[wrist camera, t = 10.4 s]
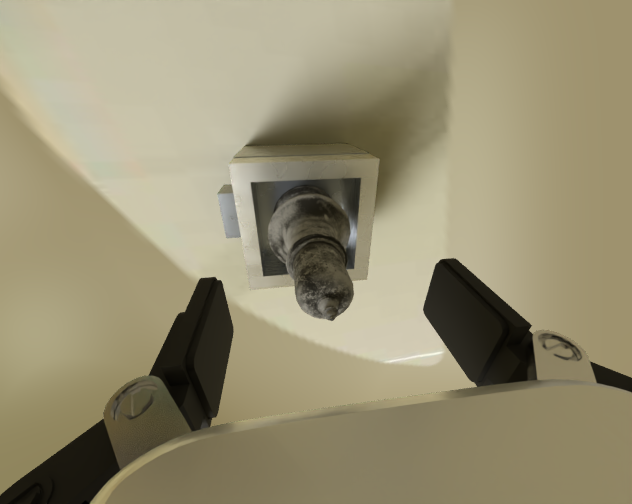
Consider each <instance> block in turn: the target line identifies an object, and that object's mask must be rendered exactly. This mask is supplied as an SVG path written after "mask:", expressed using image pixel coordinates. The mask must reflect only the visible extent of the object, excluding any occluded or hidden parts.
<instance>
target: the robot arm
mask: <svg viewBox="0 0 632 504" xmlns="http://www.w3.org/2000/svg"><path fill="white" fill-rule="evenodd" d="M423 311H424V314H425V316H426V317H427V319H428V320H429V322H430V323H431V325H432V326H433V328H434V329H435V330H436V332H437V333H438V335H439V336H440V338H441V339H442V341H443V342H444V343H445V345H446V346H447V348H448V349H449V351H450V352H451V354H452V355H453V356H454V358H455V359H456V361H457V362H458V364H459V365H460V367H461V368H462V370H463V371H464V372H465V374H466V375H467V377H468V378H469V379H470V380H471V381H472V382H474V383H475V384H476V385H477V387H474V388H466V389H459V390H451V391H444V392H436V393H429V394H421V395H414V396H407V397H400V398H392V399H385V400H378V401H371V402H363V403H356V404H349V405H343V406H335V407H328V408H322V409H315V410H307V411H301V412H295V413H287V414H280V415H274V416H267V417H261V418H255V419H249V420H243V421H237V422H231V423H226V424H222V425H217V426H212V427H210V425H211V420H212V418H214V417H216V416H217V414H218V410H219V404H220V399H221V394H222V389H223V384H224V379H225V374H226V369H227V364H228V358H229V353H230V348H231V343H232V338H233V324H232V320H231V316H230V313H229V308H228V304H227V300H226V296H225V292H224V288H223V284H222V281H221V280H217V279H216V277H210V278H201V279H200V280H199V282H198V284H197V286H196V289H195V291H194V293H193V295H192V297H191V300H190V302H189V304H188V306H187V309H186V311H185V312H182V313H179V314H178V316H177V317H176V319H175V321H174V323H173V325H172V327H171V330H170V332H169V334H168V336H167V338H166V340H165V342H164V344H163V346H162V349H161V351H160V353H159V355H158V357H157V359H156V361H155V363H154V365H153V367H152V370H151V372H150V374H149V376H142V377H139V378H136V379H134V380H132V381H130V382H128V383H126V384H125V385H124V386H122V387H121V388H120V389H119V390H118V391H117V392H116V393H115V394H114V395H113V396H112V397H111V398H110V400H109V401H108V403H107V404H106V407H105V410H104V413H103V415H104V419H102V420H101V421H100V422H98V423H97V424H96V425H94V426H93V427H91V428H90V429H89V430H87V431H86V432H85V433H83V434H82V435H80V436H79V437H78V438H76V439H75V440H74V441H72V442H71V443H70V444H68V445H67V446H65V447H64V448H63V449H61V450H60V451H58V452H57V453H56V454H54V455H53V456H51V457H50V458H49V459H47V460H46V461H45V462H43V463H42V464H40V465H39V466H38V467H36V468H35V469H33V470H32V471H31V472H29V473H28V474H27V475H25V476H24V477H22V478H21V479H20V480H18V481H17V482H16V483H14V484H13V485H12V486H11V487H10V488H8V489H7V490H6V491H5V492H4V493H2V494H1V496H0V504H632V378H631V377H628V376H626V375H623V374H621V373H618V372H615V371H613V370H610V369H608V368H605V367H603V366H600V365H598V364H595V363H593V362H590V360H589V358H588V355H587V354H586V352H585V351H584V349H583V348H582V347H581V346H579V345H578V344H577V343H576V342H574V341H573V340H571V339H569V338H568V337H566V336H564V335H561V334H559V333H557V332H553V331H549V330H539V331H536V332H535V333H533V334H532V333H531V332H530V331H529V329H530V328H531V326H532V325H531V324H530V323H528V322H527V321H526V320H525V319H524V318H523V317H522V316H520V315H519V314H518V313H517V312H516V311H515V310H514V309H512V308H511V307H510V306H509V305H508V304H507V303H506V302H504V301H503V300H502V299H501V298H500V297H499V296H498V295H497V294H495V293H494V292H493V291H492V290H491V289H490V288H489V287H487V286H486V285H485V284H484V283H483V282H482V281H481V280H480V279H478V278H477V277H476V276H475V275H474V274H473V273H472V272H470V271H469V270H468V269H467V268H466V267H465V266H464V265H462V264H461V263H460V262H459V261H458V260H456V259H454V258H452V259H442V260H440V261H439V263H437V264H436V265H435V269H434V272H433V276H432V279H431V283H430V286H429V290H428V293H427V297H426V300H425V304H424V308H423Z"/></svg>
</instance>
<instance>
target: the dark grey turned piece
mask: <svg viewBox="0 0 632 504" xmlns="http://www.w3.org/2000/svg"><path fill="white" fill-rule="evenodd" d="M350 234H351V232H350V222H349V219H348V216H347V214H346V212H345V211H344V210H343V208H342V207H341V205H339V204H338V203H337V202H335V201H334V200H333V199H331V197H330V196H329V194H327V193H326V192H325V191H323V190H322V189H320V188H317V187H315V186H308V185H303V186H296V187H294V188H292V189H290V190H288V191H287V192H285V193H284V194H283V195H282V196H281V197H280V198H279V200H278V201H277V203H276V205H275V208H274V214H273V215H272V218H271V220H270V223H269V226H268V240H269V244H270V247H271V249H272V251H273V252H274V254H275V256H277V257H278V258H279V259H280V260H281V261H282V262H283V263H285V264H286V267H287V272H288V273H289V275H290V277H291V278H292V279H293V280H294V284H295V294H296V299H297V302H298V304H299V306H300V307H301V309H302V310H303V311H304V312H305V313H307V314H309V315H311V316H313V317H315V318H319V319H328V320H330V321H333V320H334V319H335V318H336V317H337V316H338V315H340V314H341V313H343V312H344V311H345V310H346V309H347V308H348V307H349V305H350V303H351V302H352V299H353V295H354V291H353V283H352V281H351V278H350V276H349V274H348V271H347V269H346V267H347V262H348V259H347V253H346V250H345V248H346V246H347V245H348V243H349V238H350Z"/></svg>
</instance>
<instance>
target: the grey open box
mask: <svg viewBox="0 0 632 504" xmlns="http://www.w3.org/2000/svg"><path fill="white" fill-rule="evenodd" d="M379 162H380V159H379V158H377V157H375V156H373V155H370V154H369V153H368V152H366V151H363V150H361V149H359V148H356V147H354V146H352V145H349V144H347V143H341V144H303V145H265V146H244V147H243V148H242V149H241V150H240V151H239V152H238V153H237V154H236V155H235V156H234V158H233V160H232V161H231V162H230V163H229V164H228V165H229V171H230V176H231V182H232V185H224V186H223V187H222V188H221V190H220V191H219V192H218V194H217V195H218V200H219V205H220V210H221V215H222V220H223V224H224V229H225V234H226V238H237V237H241V240H242V246H243V252H244V258H245V263H246V269H247V275H248V281H249V287H250V290H255V289H266V288H277V287H289V286H295V284H294V280H293V279H292V278H291V277H290V275H289V273H288V272H287V267H286V264H285V263H283V262H282V261H281V260H280V259H279V258H278V257H277V256H275V254H274V252H273V251H272V249H271V247H270V244H269V240H268V226H269V223H270V220H271V218H272V215H273V214H274V208H275V205H276V203H277V201H278V200H279V198H280V197H281V196H282V195H283V194H284V193H285V192H287V191H288V190H290V189H292V188H294V187H296V186H303V185H308V186H315V187H317V188H320V189H322V190H323V191H325V192H326V193H327V194H329V196H330V197H331V199H333V200H334V201H335V202H337V203H338V204H339V205H341V207H342V208H343V210H344V211H345V212H346V214H347V216H348V219H349V222H350V232H351V234H350V238H349V243H348V245H347V246H346V248H345V250H346V253H347V259H348V262H347V267H346V269H347V271H348V274H349V276H350V278H351V281H356V280H367V274H368V265H369V255H370V246H371V237H372V227H373V218H374V209H375V199H376V190H377V181H378V171H379Z"/></svg>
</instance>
